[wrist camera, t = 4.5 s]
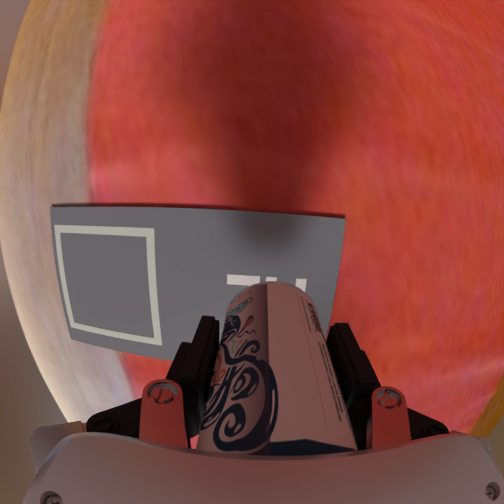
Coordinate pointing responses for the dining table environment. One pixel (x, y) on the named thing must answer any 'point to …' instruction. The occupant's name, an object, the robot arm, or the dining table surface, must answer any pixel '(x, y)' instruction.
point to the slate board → (181, 268)
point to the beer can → (274, 380)
